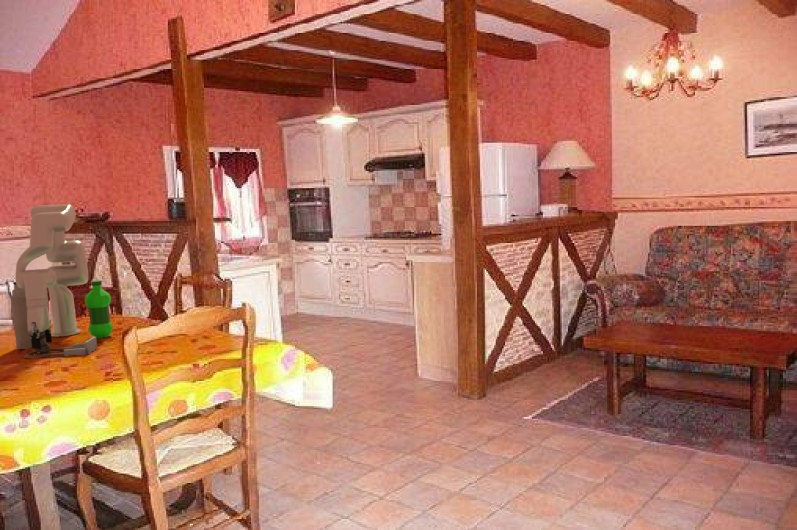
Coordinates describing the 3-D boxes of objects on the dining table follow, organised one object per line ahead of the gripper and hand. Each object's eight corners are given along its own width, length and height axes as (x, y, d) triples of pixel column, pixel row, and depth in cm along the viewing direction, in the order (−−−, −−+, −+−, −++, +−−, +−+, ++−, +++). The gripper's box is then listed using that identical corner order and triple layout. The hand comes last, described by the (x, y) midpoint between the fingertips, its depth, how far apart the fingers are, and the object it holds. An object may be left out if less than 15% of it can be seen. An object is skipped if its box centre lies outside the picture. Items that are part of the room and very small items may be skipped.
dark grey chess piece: (39, 353, 263) (35, 324, 262) (54, 352, 264) (50, 323, 262) (32, 357, 257) (28, 327, 256) (47, 356, 258) (44, 326, 256)
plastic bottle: (98, 334, 295) (93, 279, 292) (119, 334, 293) (114, 279, 290) (83, 339, 285) (77, 283, 282) (105, 339, 283) (99, 282, 280)
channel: (35, 352, 265) (35, 349, 265) (74, 350, 266) (74, 347, 266) (24, 358, 255) (23, 355, 255) (64, 356, 256) (64, 353, 256)
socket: (74, 350, 266) (73, 338, 266) (97, 348, 267) (96, 336, 266) (64, 356, 256) (63, 343, 256) (88, 354, 257) (86, 342, 257)
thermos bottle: (42, 345, 278) (35, 280, 275) (28, 349, 270) (21, 282, 267) (26, 345, 280) (19, 280, 276) (12, 349, 272) (4, 283, 269)
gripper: (37, 299, 266) (42, 341, 268) (17, 307, 249) (22, 351, 251) (56, 298, 267) (61, 339, 269) (37, 306, 250) (42, 350, 252)
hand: (42, 345), depth 260 cm, fingers open, 9 cm apart
